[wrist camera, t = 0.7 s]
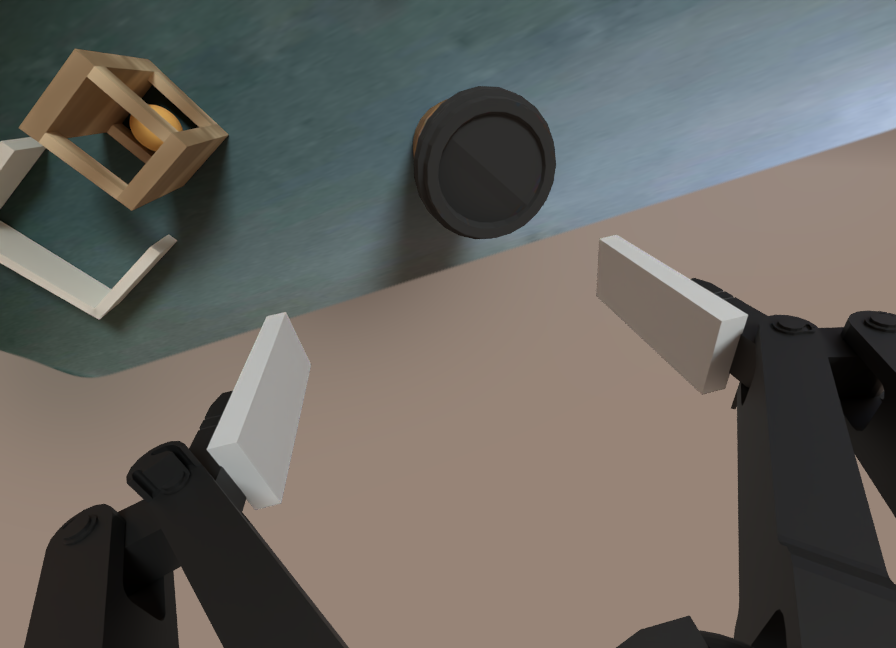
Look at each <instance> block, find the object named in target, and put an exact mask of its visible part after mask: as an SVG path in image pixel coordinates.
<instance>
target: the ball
mask: <svg viewBox="0 0 896 648" xmlns="http://www.w3.org/2000/svg"><path fill="white" fill-rule="evenodd" d="M148 105H149V106H150V107H151V108H153V109H154V110H155V111H156V112H157V113H158V114H159V115H160V116H162V117H163V118H164V119H165V120H166V121H167V122H168V123H170V124H171V125H172V126H173V127H174V128H175V129H176V130H177V131H183V129H182V126H181V124H180V122H179V121H178V119H177V118H176V117H175V116H174V115H173V114H172V113H171V112H170V111H168V110H167V109H165V108H163V107H160V106H157V105H151V104H148ZM130 128H131V131H132V133H133V135H134V137H135V138H136V139H137V140H138V141H139V142H140V143H141V144H142V145H143V146H145V147H146V148H148V149H150V150H153V151H157V150H158V149H159V147H160V146H161V145H162V144H163V143H164V142H163V141H162V140H161V139H159V138H158V137H157V136H156V135H155V134H154V133H152V132H151V131H150V130H149V129H148V128H147V127H145V126H144V125H143V124H142V123H141V122H139V121H138V120H137V119H136V118H135V117H134V116H132V115H131V116H130Z"/></svg>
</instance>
